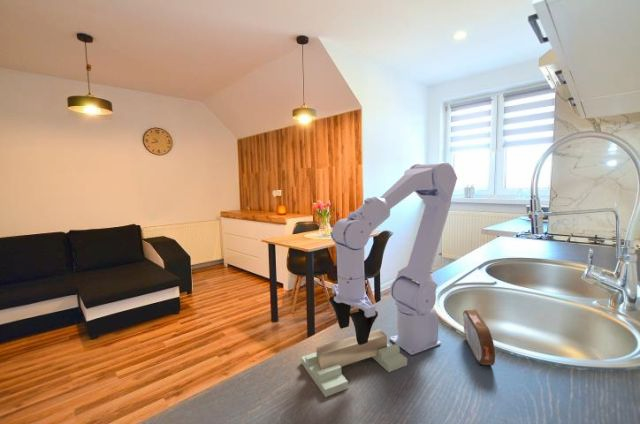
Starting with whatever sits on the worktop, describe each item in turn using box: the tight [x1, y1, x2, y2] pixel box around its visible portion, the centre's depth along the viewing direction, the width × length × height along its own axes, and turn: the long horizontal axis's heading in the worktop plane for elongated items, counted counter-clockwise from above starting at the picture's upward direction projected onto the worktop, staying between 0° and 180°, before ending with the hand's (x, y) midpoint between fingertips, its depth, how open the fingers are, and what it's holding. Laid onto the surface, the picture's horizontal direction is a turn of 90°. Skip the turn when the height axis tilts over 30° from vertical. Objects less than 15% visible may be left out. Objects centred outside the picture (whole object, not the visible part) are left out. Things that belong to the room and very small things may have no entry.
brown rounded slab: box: [462, 309, 496, 366], centre depth 69 cm, size 15×3×8 cm, turn 168°
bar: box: [315, 328, 388, 370], centre depth 66 cm, size 3×16×4 cm, turn 113°
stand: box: [300, 343, 408, 398], centre depth 67 cm, size 20×12×3 cm, turn 116°
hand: (352, 334), depth 66 cm, fingers open, 7 cm apart
